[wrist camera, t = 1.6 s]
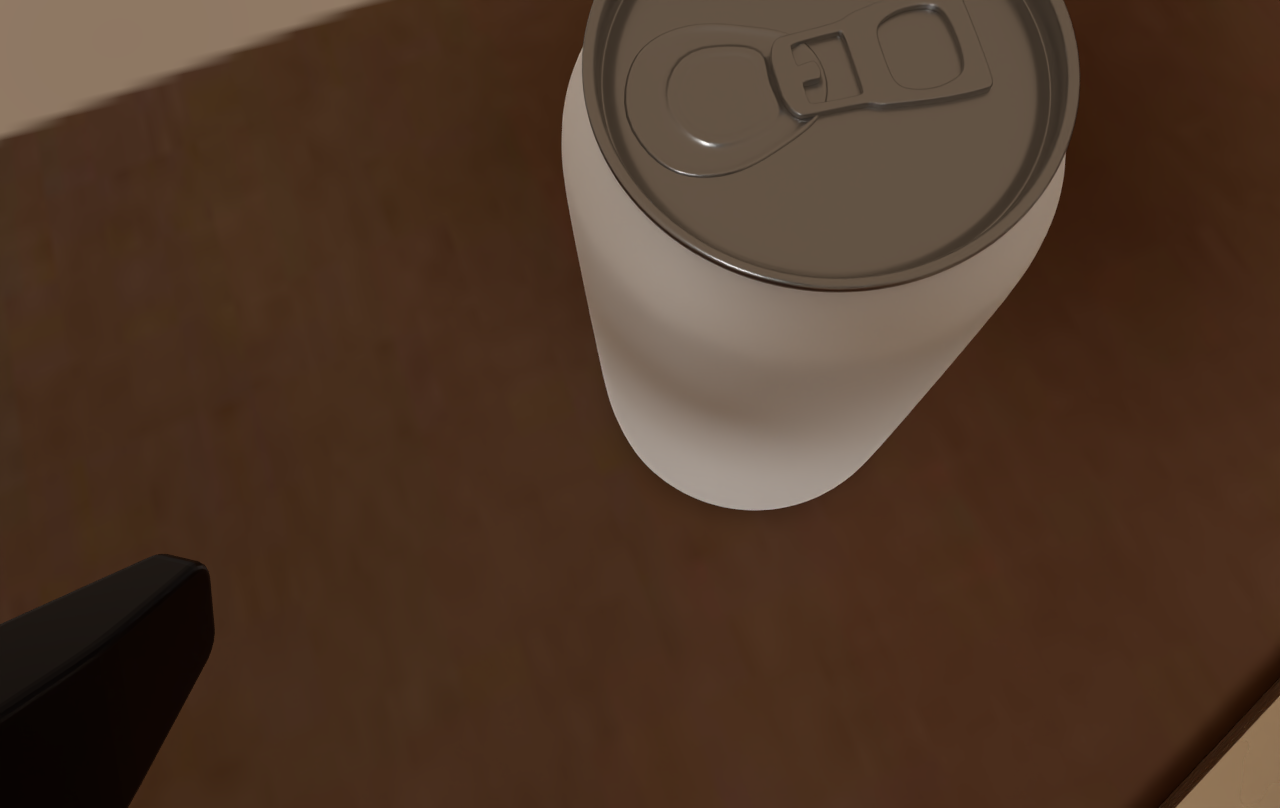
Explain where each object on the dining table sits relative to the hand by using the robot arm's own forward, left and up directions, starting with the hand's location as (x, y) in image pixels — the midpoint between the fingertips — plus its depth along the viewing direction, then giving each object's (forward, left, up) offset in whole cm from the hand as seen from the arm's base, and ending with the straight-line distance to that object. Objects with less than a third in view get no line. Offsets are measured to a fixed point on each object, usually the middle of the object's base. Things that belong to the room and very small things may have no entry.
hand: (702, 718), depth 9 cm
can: (+6, +4, -13) cm, 15 cm away
